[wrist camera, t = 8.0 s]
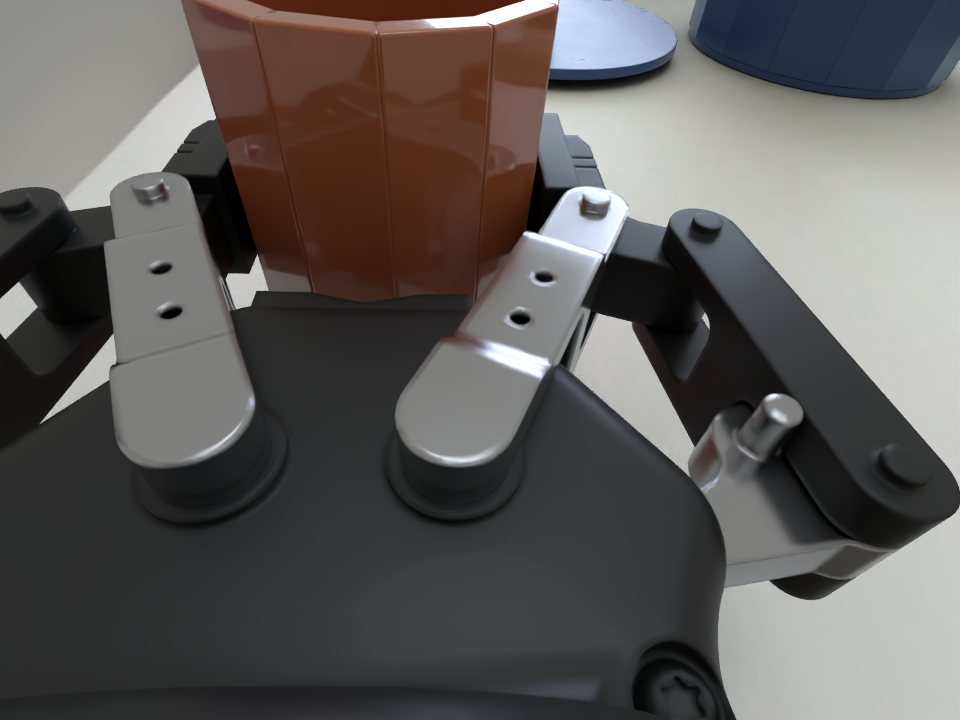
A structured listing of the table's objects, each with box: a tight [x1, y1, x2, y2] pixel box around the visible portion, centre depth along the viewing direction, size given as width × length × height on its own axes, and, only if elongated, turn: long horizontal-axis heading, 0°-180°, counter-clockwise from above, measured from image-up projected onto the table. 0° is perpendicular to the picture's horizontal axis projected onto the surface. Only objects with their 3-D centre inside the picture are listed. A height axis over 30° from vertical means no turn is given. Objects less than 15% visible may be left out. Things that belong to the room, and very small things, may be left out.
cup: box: [181, 0, 560, 306], centre depth 12 cm, size 6×6×10 cm
